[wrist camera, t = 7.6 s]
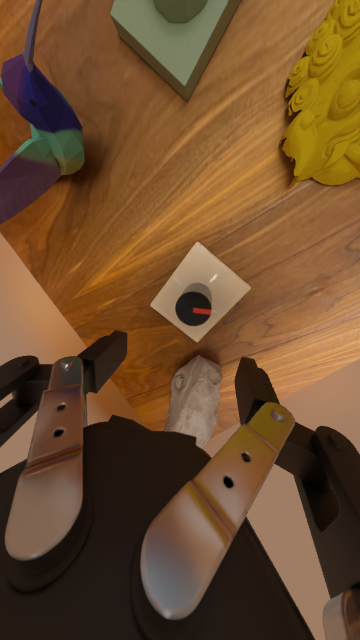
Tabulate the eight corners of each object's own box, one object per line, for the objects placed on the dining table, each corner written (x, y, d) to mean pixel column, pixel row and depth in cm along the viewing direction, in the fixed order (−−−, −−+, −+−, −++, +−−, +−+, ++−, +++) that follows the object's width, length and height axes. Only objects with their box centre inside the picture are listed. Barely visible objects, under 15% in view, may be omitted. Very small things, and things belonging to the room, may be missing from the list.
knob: (181, 309, 28) (173, 324, 22) (183, 281, 26) (175, 290, 20) (209, 312, 27) (209, 329, 22) (213, 284, 26) (214, 294, 20)
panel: (198, 241, 27) (196, 240, 24) (247, 284, 28) (251, 288, 25) (155, 300, 31) (149, 305, 28) (198, 335, 32) (197, 343, 30)
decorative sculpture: (156, 213, 26) (95, 172, 13) (54, 239, 30) (-76, 230, 17) (123, 47, 21) (-54, -360, 7) (4, 106, 25) (-258, -74, 11)
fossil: (190, 336, 30) (157, 430, 19) (241, 358, 30) (237, 466, 19) (169, 380, 41) (140, 456, 30) (207, 396, 41) (191, 480, 30)
